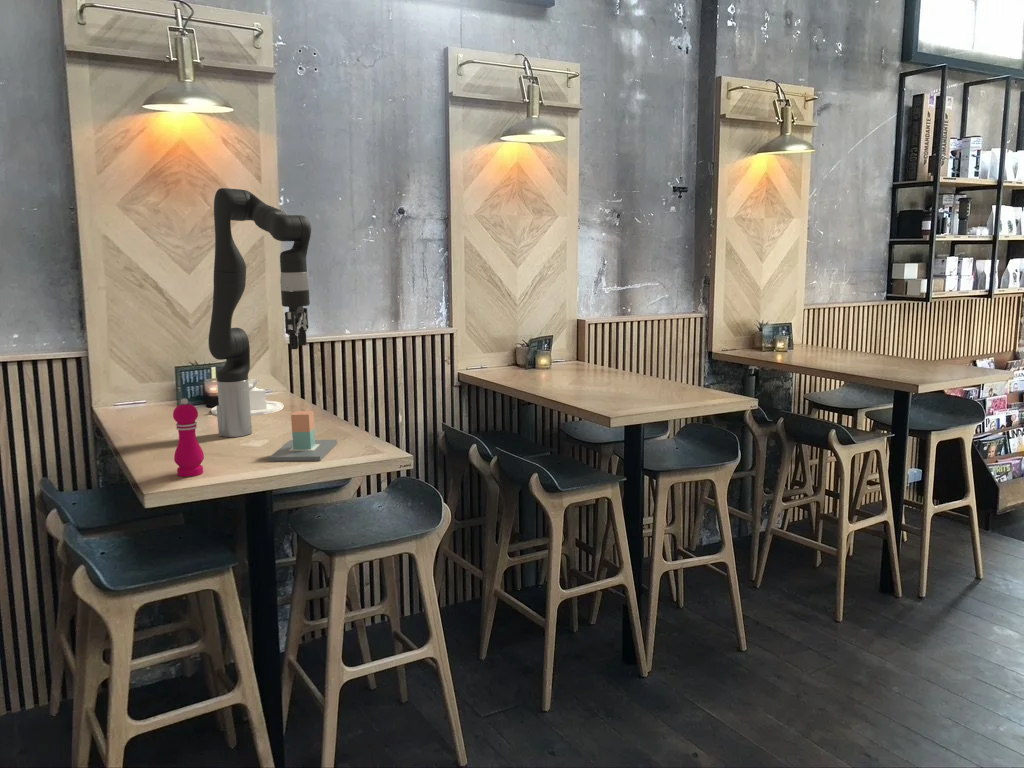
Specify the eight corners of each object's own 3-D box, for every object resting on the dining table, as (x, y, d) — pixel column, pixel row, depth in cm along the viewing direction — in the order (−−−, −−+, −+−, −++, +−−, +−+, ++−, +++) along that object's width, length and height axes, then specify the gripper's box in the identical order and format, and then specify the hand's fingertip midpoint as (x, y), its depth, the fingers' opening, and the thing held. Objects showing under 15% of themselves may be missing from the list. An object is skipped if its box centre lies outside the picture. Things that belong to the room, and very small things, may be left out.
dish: (263, 401, 323) (261, 372, 321) (295, 410, 305) (293, 379, 303) (200, 410, 307) (197, 380, 305) (230, 420, 289) (227, 388, 287)
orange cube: (292, 432, 238) (291, 414, 237) (297, 428, 243) (296, 411, 242) (309, 431, 238) (308, 414, 237) (314, 428, 243) (313, 411, 242)
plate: (269, 461, 232) (269, 456, 232) (290, 444, 252) (290, 439, 251) (320, 460, 231) (320, 455, 231) (337, 443, 251) (336, 438, 251)
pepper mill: (180, 470, 224) (174, 396, 220) (208, 469, 224) (202, 395, 221) (171, 478, 217) (165, 401, 213) (200, 477, 217) (194, 400, 214)
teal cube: (293, 449, 239) (292, 432, 238) (298, 445, 244) (297, 428, 243) (310, 449, 239) (309, 431, 238) (315, 445, 244) (314, 428, 243)
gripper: (288, 287, 241) (292, 344, 244) (273, 290, 227) (277, 350, 230) (315, 287, 241) (318, 344, 243) (301, 290, 227) (304, 350, 229)
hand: (298, 347), depth 237 cm, fingers open, 8 cm apart
